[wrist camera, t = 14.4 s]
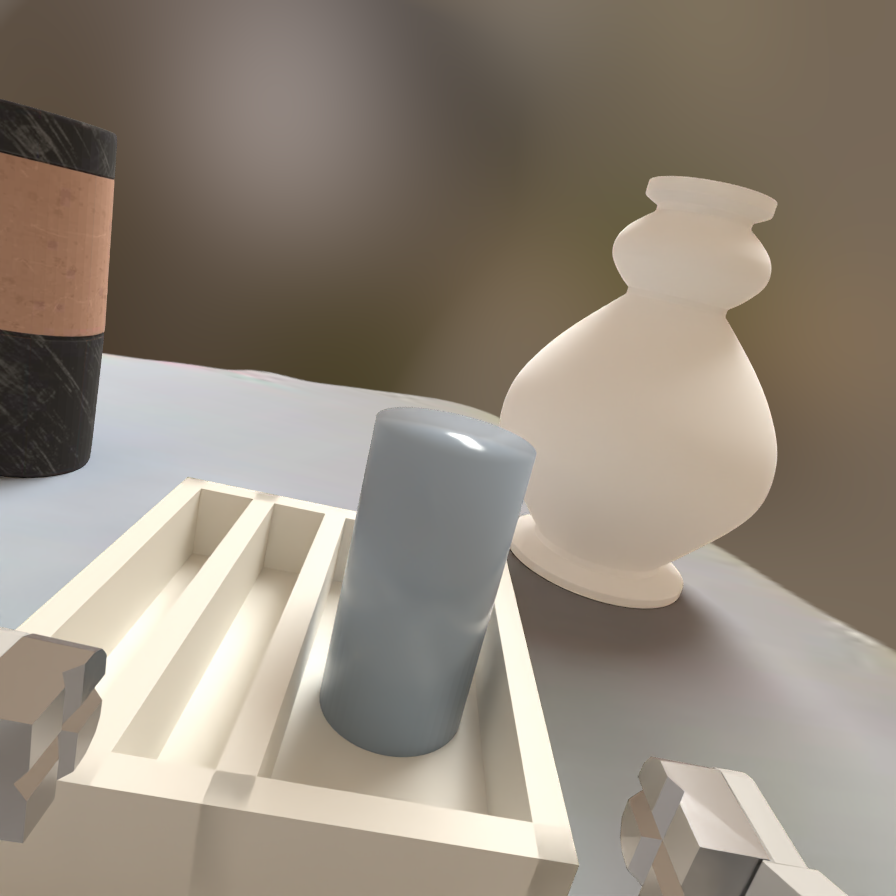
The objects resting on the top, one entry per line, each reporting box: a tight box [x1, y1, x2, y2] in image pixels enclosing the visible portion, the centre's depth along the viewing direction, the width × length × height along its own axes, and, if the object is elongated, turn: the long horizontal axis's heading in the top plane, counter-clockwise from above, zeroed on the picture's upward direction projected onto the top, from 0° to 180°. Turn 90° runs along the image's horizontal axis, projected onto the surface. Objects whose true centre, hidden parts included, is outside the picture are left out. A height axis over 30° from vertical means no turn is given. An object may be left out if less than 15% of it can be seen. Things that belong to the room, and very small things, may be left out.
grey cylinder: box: [319, 407, 537, 757], centre depth 23 cm, size 6×6×11 cm
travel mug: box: [0, 99, 117, 477], centre depth 37 cm, size 8×8×20 cm
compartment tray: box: [0, 477, 579, 896], centre depth 24 cm, size 16×18×5 cm
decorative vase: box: [499, 176, 777, 608], centre depth 41 cm, size 18×18×25 cm
